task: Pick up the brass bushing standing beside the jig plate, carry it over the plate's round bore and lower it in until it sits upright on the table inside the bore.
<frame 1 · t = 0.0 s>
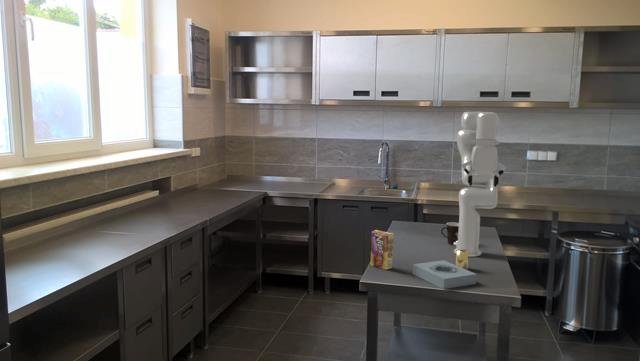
hand: (482, 185, 214), 37 cm above the table, tool pointing down, fingers open, 9 cm apart
bushing: (461, 268, 227), on the table
jig: (443, 278, 213), on the table
candy box: (381, 267, 227), on the table
coffee mug: (451, 243, 269), on the table
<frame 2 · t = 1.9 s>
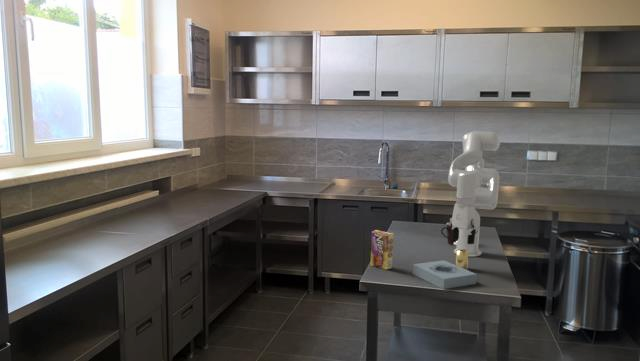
hand: (462, 241, 225), 12 cm above the table, tool pointing down, fingers open, 9 cm apart
nothing on the table moved.
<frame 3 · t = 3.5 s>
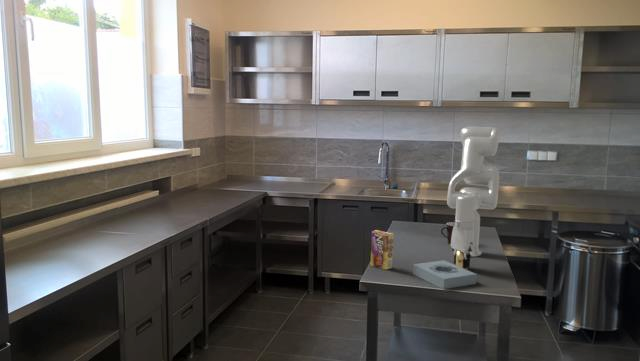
hand: (461, 265, 227), 1 cm above the table, tool pointing down, fingers closed on bushing, 5 cm apart
bushing: (461, 268, 227), on the table, touching gripper
everything else where it was.
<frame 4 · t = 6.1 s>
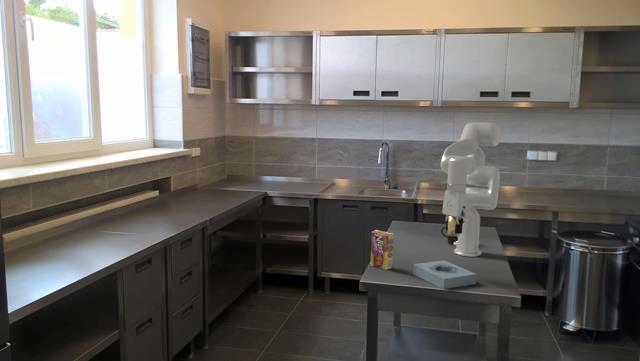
hand: (453, 231, 216), 18 cm above the table, tool pointing down, fingers closed on bushing, 5 cm apart
bushing: (453, 235, 216), point 17 cm above the table, touching gripper
everything else where it was.
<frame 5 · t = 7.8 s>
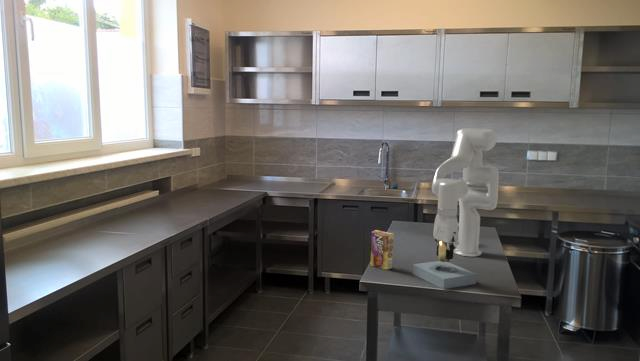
hand: (444, 256, 212), 9 cm above the table, tool pointing down, fingers closed on bushing, 5 cm apart
bushing: (444, 260, 212), point 8 cm above the table, touching gripper
everything else where it was.
when the fingers open (4 cm above the table, at t = 9.1 s): bushing drops 3 cm, resting in jig.
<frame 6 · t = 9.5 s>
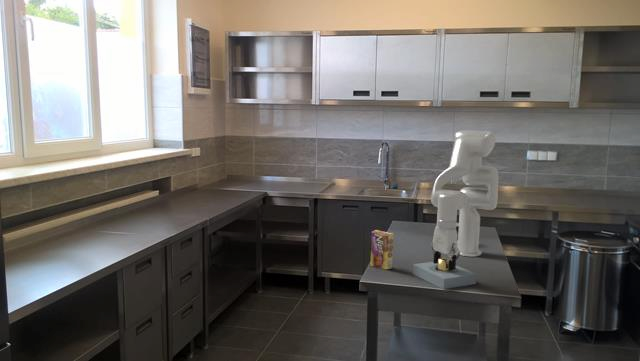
hand: (444, 266, 212), 5 cm above the table, tool pointing down, fingers open, 8 cm apart
bushing: (443, 278, 213), resting in jig
everything else where it was.
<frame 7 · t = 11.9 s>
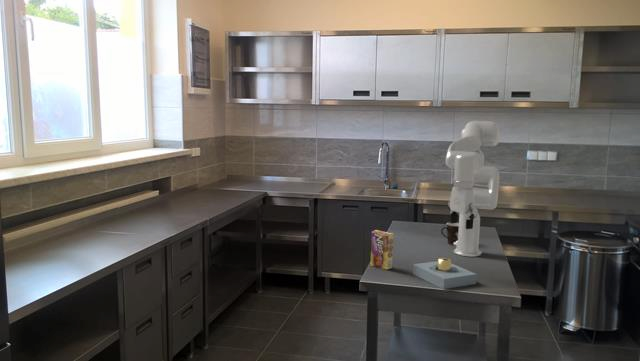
hand: (461, 225, 216), 21 cm above the table, tool pointing down, fingers open, 9 cm apart
nothing on the table moved.
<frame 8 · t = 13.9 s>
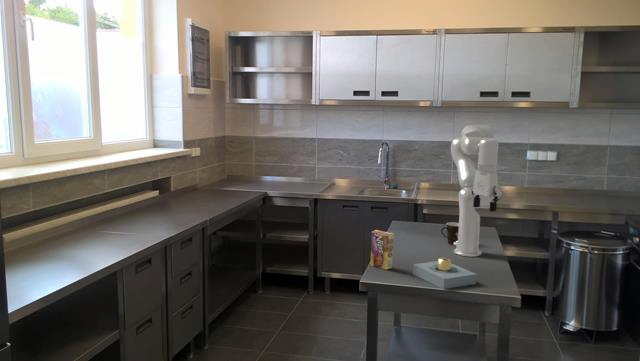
hand: (484, 209, 223), 26 cm above the table, tool pointing down, fingers open, 9 cm apart
nothing on the table moved.
at the end: bushing 0.1 cm off-centre on the jig, point 0.0 cm above the jig's base; bushing tilted 0°; the gripper is holding nothing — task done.
